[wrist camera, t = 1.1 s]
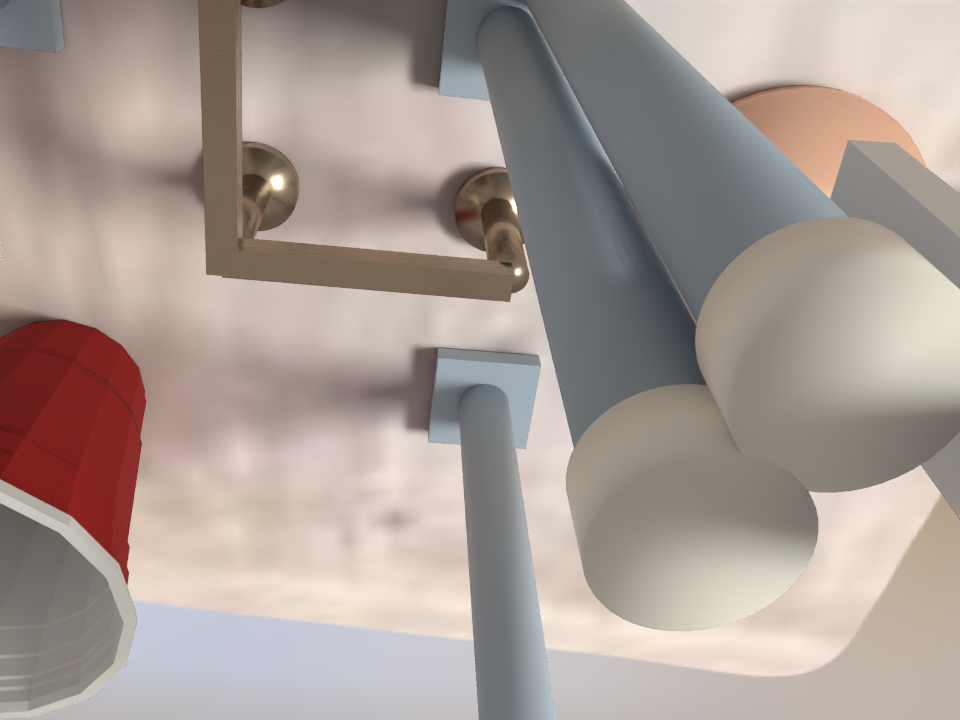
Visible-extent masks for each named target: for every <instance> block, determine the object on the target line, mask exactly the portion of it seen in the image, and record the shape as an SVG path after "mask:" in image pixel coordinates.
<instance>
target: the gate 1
mask: <svg viewBox="0 0 960 720" xmlns="http://www.w3.org/2000/svg"><path fill="white" fill-rule="evenodd" d="M0 47H8V48H17V49H26V50H36V51H45V52H54V53H57V52H58V51H59V50H61V49H62V48H64V47H65V46H64V37H63V27H62V17H61V7H60V0H0ZM438 89H439V95H444V96H453V97H462V98H471V99H480V100H489V101H491V105H492V110H493V114H494V118H495V122H496V126H497V130H498V135H499V139H500V143H501V147H502V151H503V155H504V159H505V164H506V168H507V172H508V176H509V180H510V184H511V188H512V193H513V197H514V201H515V205H516V209H517V213H518V217H519V222H520V226H521V230H522V234H523V238H524V242H525V247H526V251H527V255H528V259H529V263H530V267H531V271H532V276H533V280H534V284H535V288H536V292H537V296H538V300H539V305H540V309H541V313H542V317H543V321H544V325H545V330H546V334H547V338H548V342H549V346H550V350H551V354H552V359H553V363H554V367H555V371H556V375H557V379H558V383H559V388H560V392H561V396H562V400H563V404H564V408H565V412H566V417H567V421H568V425H569V429H570V433H571V437H572V442H573V446H574V450H573V452H572V454H571V457H570V460H569V464H568V467H567V474H566V490H567V495H568V500H569V505H570V510H571V514H572V519H573V524H574V528H575V533H576V538H577V542H578V547H579V552H580V556H581V561H582V566H583V570H584V575H585V578H586V580H587V583H588V585H589V587H590V589H591V590H592V592H593V594H594V595H595V596H596V598H597V599H598V600H599V601H600V602H601V603H602V604H603V605H604V606H605V607H606V608H607V609H609V610H610V611H611V612H613V613H614V614H616V615H617V616H619V617H621V618H623V619H625V620H627V621H629V622H631V623H634V624H637V625H640V626H643V627H647V628H652V629H657V630H666V631H694V630H703V629H708V628H714V627H718V626H721V625H725V624H729V623H732V622H734V621H737V620H740V619H742V618H745V617H747V616H749V615H751V614H753V613H755V612H757V611H759V610H760V609H762V608H764V607H765V606H767V605H769V604H770V603H772V602H773V601H774V600H776V599H777V598H778V597H780V596H781V595H782V594H783V593H784V592H785V591H786V590H787V589H789V588H790V587H791V586H792V585H793V583H794V582H795V581H796V580H797V579H798V578H799V577H800V575H801V574H802V572H803V571H804V569H805V568H806V566H807V565H808V563H809V561H810V559H811V557H812V555H813V552H814V549H815V546H816V543H817V536H818V516H817V511H816V507H815V505H814V502H813V500H812V497H811V495H810V494H809V492H808V491H807V489H806V488H805V487H804V486H803V484H802V483H801V482H800V481H799V480H798V479H797V478H796V477H795V476H793V475H792V474H791V473H789V472H788V471H787V470H785V469H783V468H782V467H780V466H778V465H776V464H774V463H772V462H769V461H767V460H764V459H762V458H757V457H753V456H749V455H744V454H742V452H741V451H740V449H739V448H738V446H737V444H736V442H735V440H734V438H733V436H732V434H731V432H730V430H729V428H728V426H727V424H726V422H725V420H724V418H723V416H722V414H721V412H720V410H719V408H718V406H717V404H716V402H715V400H714V398H713V396H712V394H711V392H710V390H709V388H708V386H707V384H706V381H705V379H704V377H703V375H702V373H701V370H700V368H699V365H698V361H697V357H696V348H695V336H696V327H697V325H696V323H695V322H694V320H693V318H692V316H691V314H690V312H689V310H688V308H687V306H686V305H685V303H684V301H683V299H682V297H681V295H680V293H679V291H678V290H677V288H676V286H675V284H674V282H673V280H672V278H671V276H670V274H669V273H668V271H667V269H666V267H665V265H664V263H663V261H662V259H661V258H660V256H659V254H658V252H657V250H656V248H655V246H654V244H653V243H652V241H651V239H650V237H649V235H648V233H647V231H646V229H645V227H644V226H643V224H642V222H641V220H640V218H639V216H638V214H637V212H636V211H635V209H634V207H633V205H632V203H631V201H630V199H629V197H628V195H627V194H626V192H625V190H624V188H623V186H622V184H621V182H620V180H619V179H618V177H617V175H616V173H615V171H614V169H613V167H612V165H611V163H610V162H609V160H608V158H607V156H606V154H605V152H604V150H603V148H602V147H601V145H600V143H599V141H598V139H597V137H596V135H595V133H594V132H593V130H592V128H591V126H590V124H589V122H588V120H587V118H586V116H585V115H584V113H583V111H582V109H581V107H580V105H579V103H578V101H577V100H576V98H575V96H574V94H573V92H572V90H571V88H570V86H569V84H568V83H567V81H566V79H565V77H564V74H563V72H562V70H561V68H560V66H559V65H558V63H557V61H556V59H555V57H554V55H553V53H552V51H551V50H550V48H549V46H548V44H547V42H546V40H545V38H544V36H543V35H542V33H541V31H540V29H539V27H538V25H537V23H536V21H535V20H534V18H533V16H532V14H531V12H530V10H529V8H528V6H527V5H526V3H525V1H524V0H447V9H446V19H445V29H444V39H443V49H442V59H441V69H440V78H439V88H438Z"/></svg>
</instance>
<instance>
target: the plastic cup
mask: <svg viewBox="0 0 960 720" xmlns="http://www.w3.org/2000/svg"><path fill="white" fill-rule="evenodd" d="M144 394H145V390H144V386H143V382H142V378H141V375H140V371H139V367H138V366H137V365H136V364H135V362H134V361H133V360H132V358H131V357H130V356H129V354H128V353H127V352H126V351H125V349H124V348H123V347H122V345H120V344H119V343H117V342H115V341H114V340H112V339H111V338H109V337H108V336H106V335H105V334H103V333H102V332H100V331H99V330H97V329H95V328H92V327H88V326H84V325H81V324H77V323H74V322H70V321H66V320H60V321H40V322H34V323H32V324H29V325H27V326H25V327H22V328H20V329H18V330H16V331H14V332H11V333H9V334H7V335H5V336H3V337H1V338H0V719H5V718H25V717H35V716H38V715H41V714H44V713H47V712H50V711H53V710H56V709H59V708H62V707H65V706H68V705H71V704H74V703H77V702H80V701H83V700H86V699H89V698H90V697H91V696H92V695H94V694H95V693H96V692H97V691H98V690H99V689H100V688H102V687H103V686H104V685H105V684H106V683H107V682H108V681H109V680H111V679H112V678H113V677H114V676H115V675H116V674H118V673H119V672H120V671H121V670H122V669H123V668H124V667H125V666H126V662H127V659H128V655H129V651H130V647H131V644H132V639H133V636H134V632H135V628H136V625H137V618H136V609H135V607H134V604H133V601H132V598H131V596H130V593H129V590H128V587H127V583H128V576H129V572H128V569H127V561H128V554H129V544H128V534H129V527H130V521H131V514H132V507H133V500H134V493H135V487H136V480H137V473H138V466H139V459H140V452H141V446H142V443H141V439H140V434H141V428H142V422H143V417H144V411H145V405H146V399H145V395H144Z"/></svg>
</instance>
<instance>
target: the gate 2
mask: <svg viewBox="0 0 960 720" xmlns="http://www.w3.org/2000/svg"><path fill="white" fill-rule="evenodd" d="M524 1H525V3H526V5H527V6H528V8H529V10H530V12H531V14H532V16H533V18H534V20H535V21H536V23H537V25H538V27H539V29H540V31H541V33H542V35H543V36H544V38H545V40H546V42H547V44H548V46H549V48H550V50H551V51H552V53H553V55H554V57H555V59H556V61H557V63H558V65H559V66H560V68H561V70H562V72H563V74H564V76H565V78H566V80H567V81H568V83H569V85H570V87H571V89H572V91H573V93H574V95H575V96H576V98H577V100H578V102H579V104H580V106H581V108H582V110H583V111H584V113H585V115H586V117H587V119H588V121H589V123H590V125H591V126H592V128H593V130H594V132H595V134H596V136H597V138H598V140H599V141H600V143H601V145H602V147H603V149H604V151H605V153H606V155H607V156H608V158H609V160H610V162H611V164H612V166H613V168H614V169H615V171H616V173H617V175H618V177H619V179H620V181H621V183H622V184H623V186H624V188H625V190H626V192H627V194H628V196H629V198H630V199H631V201H632V203H633V205H634V207H635V209H636V211H637V213H638V214H639V216H640V218H641V220H642V222H643V224H644V226H645V228H646V229H647V231H648V233H649V235H650V237H651V239H652V241H653V243H654V244H655V246H656V248H657V250H658V252H659V254H660V256H661V258H662V259H663V261H664V263H665V265H666V267H667V269H668V271H669V273H670V274H671V276H672V278H673V280H674V282H675V284H676V286H677V288H678V289H679V291H680V293H681V295H682V297H683V299H684V301H685V303H686V304H687V306H688V308H689V310H690V312H691V314H692V316H693V318H694V319H695V321H696V323H697V327H696V336H695V348H696V357H697V361H698V365H699V368H700V370H701V373H702V375H703V377H704V379H705V381H706V384H707V386H708V388H709V390H710V392H711V394H712V396H713V398H714V400H715V402H716V404H717V406H718V408H719V410H720V412H721V414H722V416H723V418H724V420H725V422H726V424H727V426H728V428H729V430H730V432H731V434H732V436H733V438H734V440H735V442H736V444H737V446H738V448H739V449H740V451H741V452H742V454H744V455H749V456H753V457H757V458H762V459H764V460H767V461H769V462H772V463H774V464H776V465H778V466H780V467H782V468H783V469H785V470H787V471H788V472H789V473H791V474H792V475H793V476H795V477H796V478H797V479H798V480H799V481H800V482H801V483H802V484H803V486H804V487H805V488H806V489H807V491H812V492H844V491H852V490H857V489H863V488H867V487H871V486H874V485H877V484H881V483H884V482H886V481H889V480H891V479H894V478H896V477H899V476H901V475H903V474H905V473H907V472H909V471H911V470H913V469H914V468H916V467H917V466H919V465H921V464H922V463H924V462H925V461H927V460H928V459H930V458H931V457H932V456H934V455H935V454H936V453H938V452H939V451H940V450H941V449H943V448H944V447H945V446H946V445H947V444H948V443H949V442H950V441H951V440H952V439H953V438H954V437H955V436H956V435H957V434H958V433H959V432H960V289H959V288H957V287H956V286H955V285H954V284H953V283H952V282H951V281H950V280H949V279H947V278H946V277H945V276H944V275H943V274H942V273H941V272H940V271H939V270H937V269H936V268H935V267H934V266H933V265H932V264H931V263H930V262H929V261H927V260H926V259H925V258H924V257H923V256H922V255H921V254H920V253H919V252H917V251H916V250H915V249H914V248H913V247H912V246H911V245H910V244H909V243H907V242H906V241H905V240H904V239H903V238H902V237H900V236H899V235H897V234H896V233H895V232H893V231H892V230H890V229H888V228H886V227H884V226H882V225H880V224H877V223H874V222H871V221H868V220H864V219H858V218H852V217H848V216H847V215H846V214H845V213H844V212H843V211H842V210H841V209H840V208H839V207H838V206H837V205H836V204H835V203H834V202H833V201H832V200H831V199H830V198H829V197H828V196H827V195H826V194H825V193H824V192H823V191H821V190H820V189H819V188H818V187H817V186H816V185H815V184H814V183H813V182H812V181H811V180H810V179H809V178H808V177H807V176H806V175H805V174H804V173H803V172H802V171H801V170H800V169H799V168H798V167H797V166H796V165H795V164H793V163H792V162H791V161H790V160H789V159H788V158H787V157H786V156H785V155H784V154H783V153H782V152H781V151H780V150H779V149H778V148H777V147H776V146H775V145H774V144H773V143H772V142H771V141H770V140H769V139H768V138H766V137H765V136H764V135H763V134H762V133H761V132H760V131H759V130H758V129H757V128H756V127H755V126H754V125H753V124H752V123H751V122H750V121H749V120H748V119H747V118H746V117H745V116H744V115H743V114H742V113H741V112H740V111H738V110H737V109H736V108H735V107H734V106H733V105H732V104H731V103H730V102H729V101H728V100H727V99H726V98H725V97H724V96H723V95H722V94H721V93H720V92H719V91H718V90H717V89H716V88H715V87H714V86H713V85H711V84H710V83H709V82H708V81H707V80H706V79H705V78H704V77H703V76H702V75H701V74H700V73H699V72H698V71H697V70H696V69H695V68H694V67H693V66H692V65H691V64H690V63H689V62H688V61H687V60H686V59H685V58H683V57H682V56H681V55H680V54H679V53H678V52H677V51H676V50H675V49H674V48H673V47H672V46H671V45H670V44H669V43H668V42H667V41H666V40H665V39H664V38H663V37H662V36H661V35H660V34H659V33H658V32H656V31H655V30H654V29H653V28H652V27H651V26H650V25H649V24H648V23H647V22H646V21H645V20H644V19H643V18H642V17H641V16H640V15H639V14H638V13H637V12H636V11H635V10H634V9H633V8H632V7H631V6H630V5H628V4H627V3H626V2H625V1H624V0H524ZM540 369H541V364H540V360H539V356H537V355H524V354H511V353H499V352H486V351H473V350H461V349H448V348H438V352H437V360H436V369H435V377H434V386H433V394H432V403H431V411H430V420H429V428H428V442H429V443H444V444H459V445H461V455H462V470H463V485H464V500H465V516H466V531H467V546H468V561H469V576H470V591H471V606H472V621H473V637H474V650H475V651H474V652H475V666H476V681H477V697H478V712H479V720H556V716H555V709H554V702H553V695H552V689H551V683H550V675H549V669H548V662H547V655H546V649H545V642H544V635H543V629H542V622H541V615H540V609H539V602H538V595H537V589H536V582H535V575H534V569H533V562H532V555H531V549H530V542H529V535H528V529H527V522H526V515H525V509H524V502H523V495H522V489H521V482H520V476H519V469H518V462H517V456H516V449H515V448H519V449H526V444H527V439H528V433H529V428H530V422H531V417H532V412H533V406H534V401H535V396H536V390H537V385H538V379H539V374H540Z"/></svg>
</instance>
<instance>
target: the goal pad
mask: <svg viewBox="0 0 960 720" xmlns="http://www.w3.org/2000/svg"><path fill="white" fill-rule="evenodd" d="M731 104H732V105H733V106H734V107H735V108H736V109H737V110H738V111H740V112H741V113H742V114H743V115H744V116H745V117H746V118H747V119H748V120H749V121H750V122H751V123H752V124H753V125H754V126H755V127H756V128H757V129H758V130H759V131H760V132H761V133H762V134H763V135H764V136H765V137H766V138H768V139H769V140H770V141H771V142H772V143H773V144H774V145H775V146H776V147H777V148H778V149H779V150H780V151H781V152H782V153H783V154H784V155H785V156H786V157H787V158H788V159H789V160H790V161H791V162H792V163H793V164H795V165H796V166H797V167H798V168H799V169H800V170H801V171H802V172H803V173H804V174H805V175H806V176H807V177H808V178H809V179H810V180H811V181H812V182H813V183H814V184H815V185H816V186H817V187H818V188H819V189H820V190H821V191H823V192H824V193H825V194H826V195H827V196H828V197H829V198H831V194H832V191H833V188H834V184H835V181H836V178H837V174H838V171H839V168H840V165H841V161H842V158H843V155H844V151H845V148H846V145H847V141H848V140H858V141H873V142H888V143H896V144H897V145H899V146H900V147H901V148H902V149H904V150H905V151H906V152H907V153H909V154H910V155H911V156H912V157H914V158H915V159H916V160H918V161H919V162H920V163H921V164H923V165H924V166H925V167H926V165H925V163H924V160H923V158H922V156H921V153H920V151H919V149H918V147H917V146H916V144H915V143H914V141H913V140H912V138H911V137H910V135H909V134H908V133H907V132H906V131H905V129H904V128H903V127H902V126H901V125H900V124H899V123H898V122H897V121H896V120H895V119H893V118H892V117H891V116H889V115H888V114H887V113H886V112H884V111H883V110H881V109H880V108H878V107H877V106H875V105H874V104H872V103H870V102H868V101H866V100H864V99H863V98H861V97H859V96H856V95H853V94H850V93H847V92H845V91H842V90H837V89H832V88H827V87H821V86H790V87H780V88H775V89H770V90H766V91H761V92H758V93H755V94H752V95H749V96H746V97H743V98H741V99H738V100H736V101H734V102H732V103H731ZM635 211H636V209H635ZM636 212H637V211H636ZM637 214H638V213H637ZM638 216H639V214H638ZM639 218H640V216H639ZM640 220H641V218H640ZM641 222H642V220H641ZM642 224H643V222H642ZM643 226H644V224H643ZM644 227H645V226H644ZM645 229H646V228H645ZM646 231H647V229H646ZM647 233H648V231H647ZM648 235H649V233H648ZM649 237H650V235H649ZM650 239H651V237H650ZM651 241H652V239H651ZM652 243H653V241H652ZM653 244H654V243H653ZM654 246H655V244H654ZM655 248H656V246H655ZM656 250H657V248H656ZM657 252H658V250H657ZM658 254H659V252H658ZM659 256H660V254H659ZM660 258H661V256H660ZM661 259H662V258H661ZM662 261H663V259H662ZM663 263H664V261H663ZM664 265H665V263H664ZM665 267H666V265H665ZM666 269H667V267H666ZM667 271H668V269H667ZM668 273H669V271H668ZM669 274H670V273H669ZM670 276H671V274H670ZM671 278H672V276H671ZM672 280H673V278H672ZM673 282H674V280H673ZM674 284H675V282H674ZM675 286H676V284H675ZM676 288H677V286H676ZM677 290H678V291H679V289H678V288H677ZM679 293H680V291H679ZM680 295H681V293H680ZM681 297H682V295H681ZM682 299H683V297H682ZM683 301H684V299H683ZM684 303H685V301H684ZM685 305H686V306H687V304H686V303H685ZM687 308H688V306H687ZM688 310H689V308H688ZM689 312H690V310H689ZM690 314H691V312H690ZM691 316H692V314H691ZM692 318H693V316H692ZM693 320H694V322H695V323H696V321H695V319H694V318H693ZM696 325H697V323H696Z"/></svg>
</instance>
